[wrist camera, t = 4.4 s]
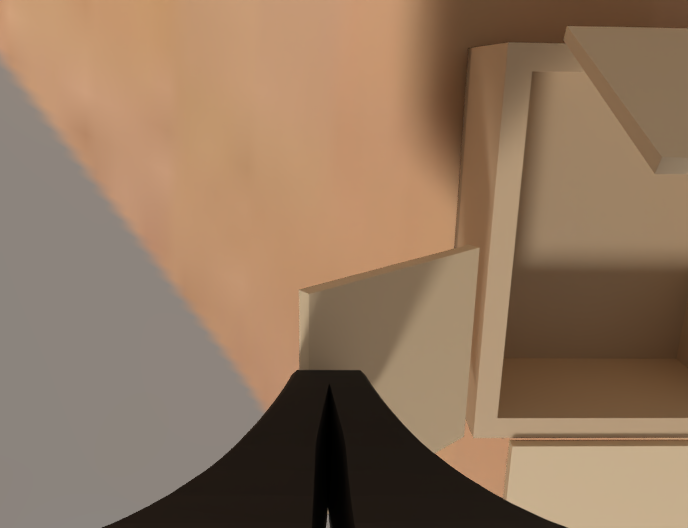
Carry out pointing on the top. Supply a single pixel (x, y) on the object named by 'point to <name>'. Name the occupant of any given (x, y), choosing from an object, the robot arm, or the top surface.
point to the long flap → (641, 86)
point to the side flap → (401, 337)
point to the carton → (573, 295)
